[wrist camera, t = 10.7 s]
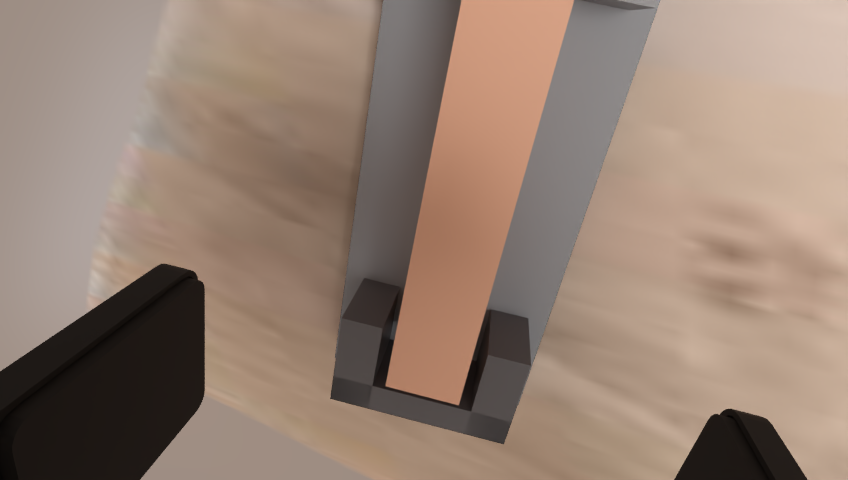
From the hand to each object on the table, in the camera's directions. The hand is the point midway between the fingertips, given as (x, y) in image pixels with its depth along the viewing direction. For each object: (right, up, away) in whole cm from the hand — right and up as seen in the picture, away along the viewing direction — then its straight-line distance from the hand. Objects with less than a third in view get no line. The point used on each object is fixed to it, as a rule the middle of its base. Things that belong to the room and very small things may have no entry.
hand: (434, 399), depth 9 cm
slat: (+2, +7, +14) cm, 16 cm away
